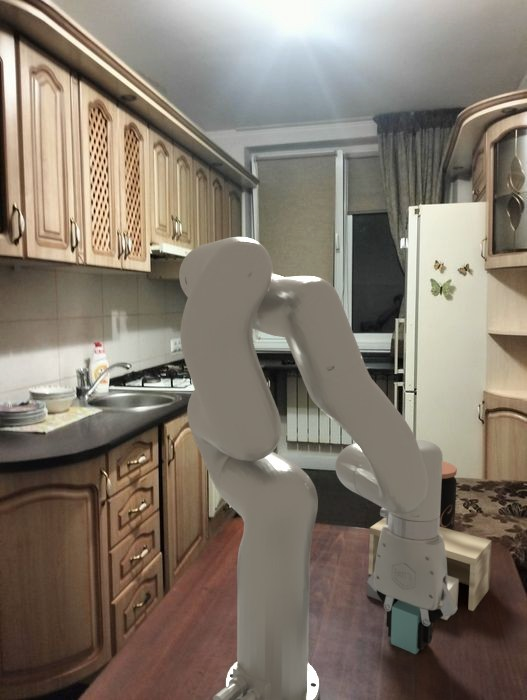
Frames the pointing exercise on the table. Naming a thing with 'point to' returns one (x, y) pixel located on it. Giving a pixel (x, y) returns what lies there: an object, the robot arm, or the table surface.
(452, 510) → the coffee jar
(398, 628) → the teal and white dumbbell
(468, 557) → the birch shelf
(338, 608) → the table surface
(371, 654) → the table surface
